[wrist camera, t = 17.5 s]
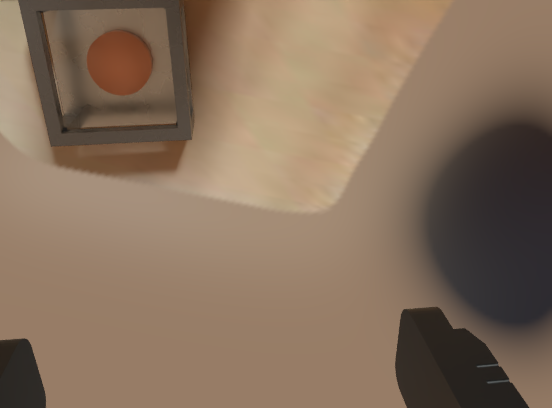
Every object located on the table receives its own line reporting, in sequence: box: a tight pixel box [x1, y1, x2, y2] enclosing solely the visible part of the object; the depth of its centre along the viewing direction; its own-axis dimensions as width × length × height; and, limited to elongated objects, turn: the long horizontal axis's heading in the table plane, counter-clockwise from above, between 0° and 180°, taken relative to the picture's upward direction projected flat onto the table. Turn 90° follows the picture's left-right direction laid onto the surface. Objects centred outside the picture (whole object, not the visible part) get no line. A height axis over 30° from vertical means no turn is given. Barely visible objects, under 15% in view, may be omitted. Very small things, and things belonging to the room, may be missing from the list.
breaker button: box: [87, 30, 152, 96], centre depth 41 cm, size 5×5×1 cm
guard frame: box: [18, 0, 194, 146], centre depth 40 cm, size 11×11×5 cm
